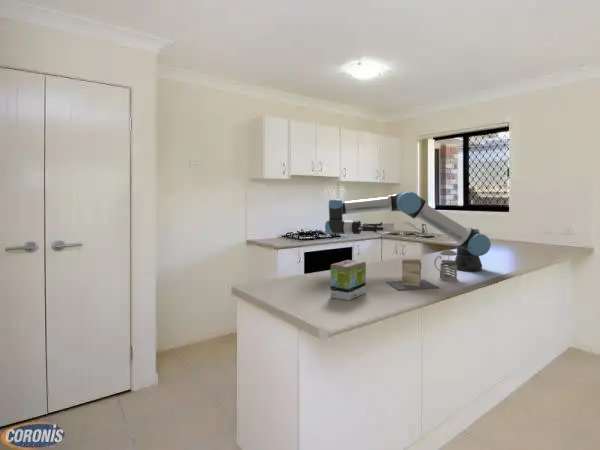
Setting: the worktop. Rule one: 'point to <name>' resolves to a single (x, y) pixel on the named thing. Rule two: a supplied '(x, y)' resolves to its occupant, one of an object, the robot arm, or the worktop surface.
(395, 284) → the mat
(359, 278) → the tea box
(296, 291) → the worktop surface
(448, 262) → the french press
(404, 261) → the birch block
